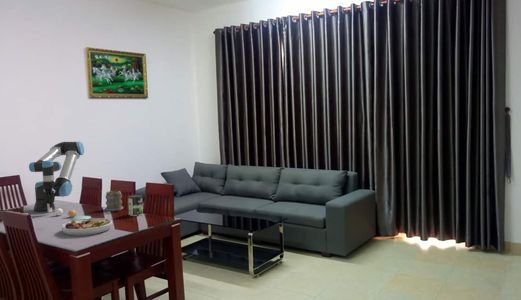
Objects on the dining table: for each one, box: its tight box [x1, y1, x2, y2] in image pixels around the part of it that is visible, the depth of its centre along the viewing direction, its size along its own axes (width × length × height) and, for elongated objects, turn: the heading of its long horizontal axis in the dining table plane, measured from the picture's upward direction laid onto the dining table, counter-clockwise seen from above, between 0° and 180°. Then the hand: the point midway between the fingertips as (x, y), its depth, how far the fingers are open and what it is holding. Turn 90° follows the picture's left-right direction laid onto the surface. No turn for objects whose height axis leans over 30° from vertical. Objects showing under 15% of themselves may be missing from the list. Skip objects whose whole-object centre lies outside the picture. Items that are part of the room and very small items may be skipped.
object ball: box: [67, 209, 77, 218], centre depth 314 cm, size 6×6×6 cm
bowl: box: [61, 217, 113, 237], centre depth 275 cm, size 30×30×8 cm
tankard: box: [104, 190, 124, 212], centre depth 338 cm, size 20×13×15 cm, turn 40°
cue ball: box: [54, 207, 64, 216], centre depth 321 cm, size 6×6×6 cm
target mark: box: [69, 215, 92, 221], centre depth 310 cm, size 14×14×1 cm
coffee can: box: [127, 194, 144, 217], centre depth 319 cm, size 10×10×14 cm
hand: (50, 211), depth 325 cm, fingers closed
